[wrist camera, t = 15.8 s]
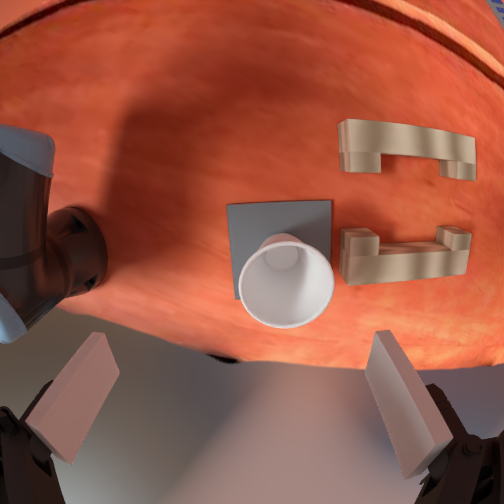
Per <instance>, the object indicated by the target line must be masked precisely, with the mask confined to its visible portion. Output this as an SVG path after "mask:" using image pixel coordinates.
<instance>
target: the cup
mask: <svg viewBox="0 0 504 504" xmlns="http://www.w3.org/2000/svg"><path fill="white" fill-rule="evenodd" d="M334 284H335V280H334V273H333V270H332V268H331V265H330V263H329V262H328V260H327V259H326V257H325V256H324V255H323V254H322V253H321V252H319V251H318V250H317V249H315V248H313V247H312V246H310V245H307V244H305V243H303V242H302V241H300V240H299V239H298V238H296V237H294V236H293V235H290V234H287V233H278V234H274V235H272V236H270V237H268V238H267V239H266V240H265V241H264V242H263V244H262V245H261V246H260V248H259V249H258V251H257V252H255V253H254V254H253V255H252V256H251V257H250V258H249V259H248V260H247V262H246V264H245V265H244V267H243V269H242V271H241V274H240V277H239V285H238V286H239V295H240V298H241V301H242V303H243V305H244V307H245V309H246V310H247V311H248V312H249V313H250V315H251V316H252V317H254V318H255V319H256V320H258V321H259V322H261V323H263V324H265V325H268V326H271V327H275V328H294V327H299V326H302V325H305V324H307V323H309V322H311V321H312V320H314V319H316V318H317V317H318V316H319V315H320V314H321V313H323V311H324V310H325V309H326V307H327V306H328V304H329V303H330V301H331V299H332V296H333V292H334Z"/></svg>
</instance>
